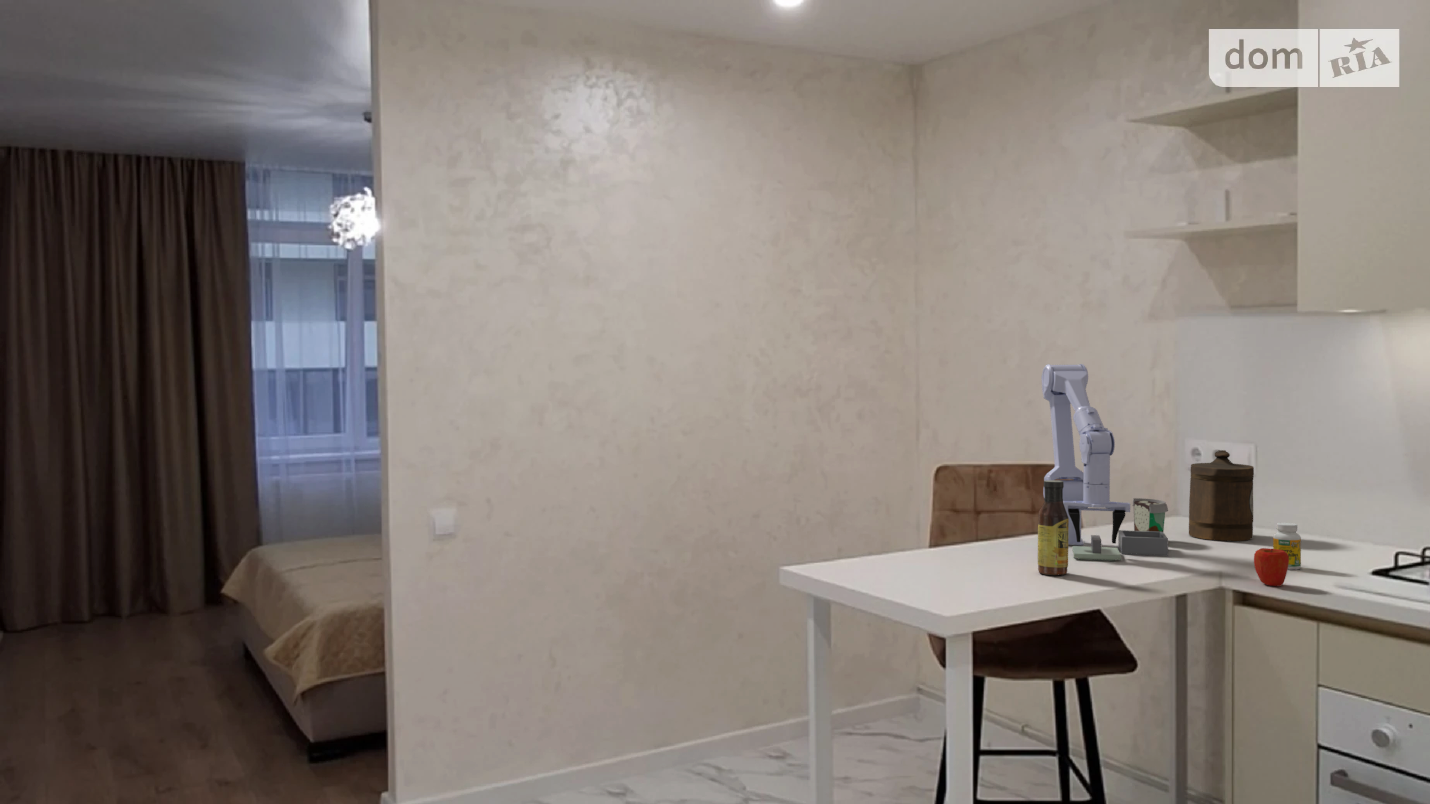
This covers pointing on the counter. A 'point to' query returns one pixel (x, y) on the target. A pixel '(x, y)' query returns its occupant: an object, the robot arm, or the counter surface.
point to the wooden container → (1221, 500)
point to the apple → (1271, 566)
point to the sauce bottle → (1053, 531)
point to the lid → (1096, 551)
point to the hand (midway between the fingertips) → (1096, 542)
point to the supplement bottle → (1289, 543)
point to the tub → (1143, 543)
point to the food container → (1149, 514)
